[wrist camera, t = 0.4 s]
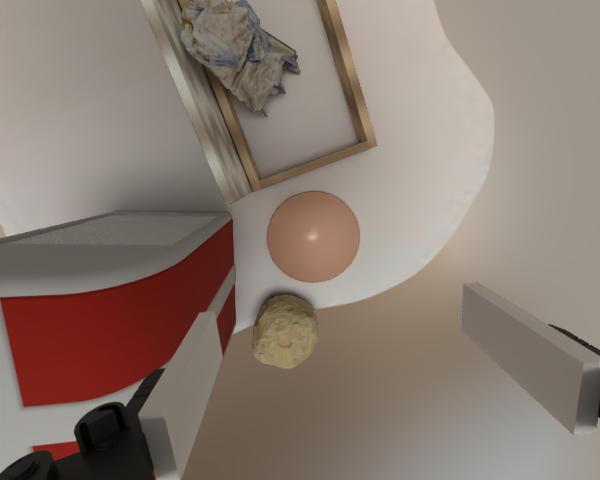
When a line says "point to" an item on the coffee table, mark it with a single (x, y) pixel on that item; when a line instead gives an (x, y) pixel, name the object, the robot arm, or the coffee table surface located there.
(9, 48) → the coffee table surface
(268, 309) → the decorative object
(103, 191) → the coffee table surface
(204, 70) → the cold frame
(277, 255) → the peach round smooth part
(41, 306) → the red striped box
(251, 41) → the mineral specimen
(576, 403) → the robot arm
